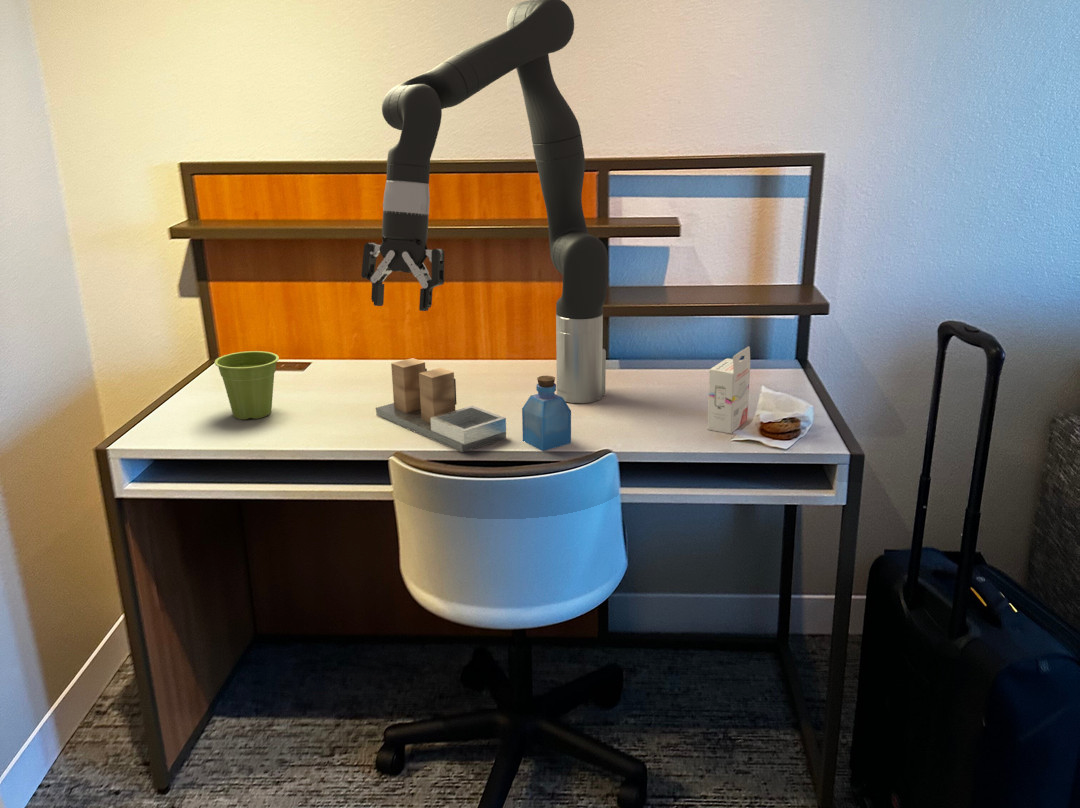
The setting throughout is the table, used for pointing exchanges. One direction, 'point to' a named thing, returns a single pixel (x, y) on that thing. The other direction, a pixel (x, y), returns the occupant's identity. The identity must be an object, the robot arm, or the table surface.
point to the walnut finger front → (437, 393)
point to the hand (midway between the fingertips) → (400, 308)
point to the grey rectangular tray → (452, 426)
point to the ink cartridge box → (729, 393)
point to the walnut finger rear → (407, 384)
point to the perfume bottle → (546, 417)
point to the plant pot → (249, 382)
